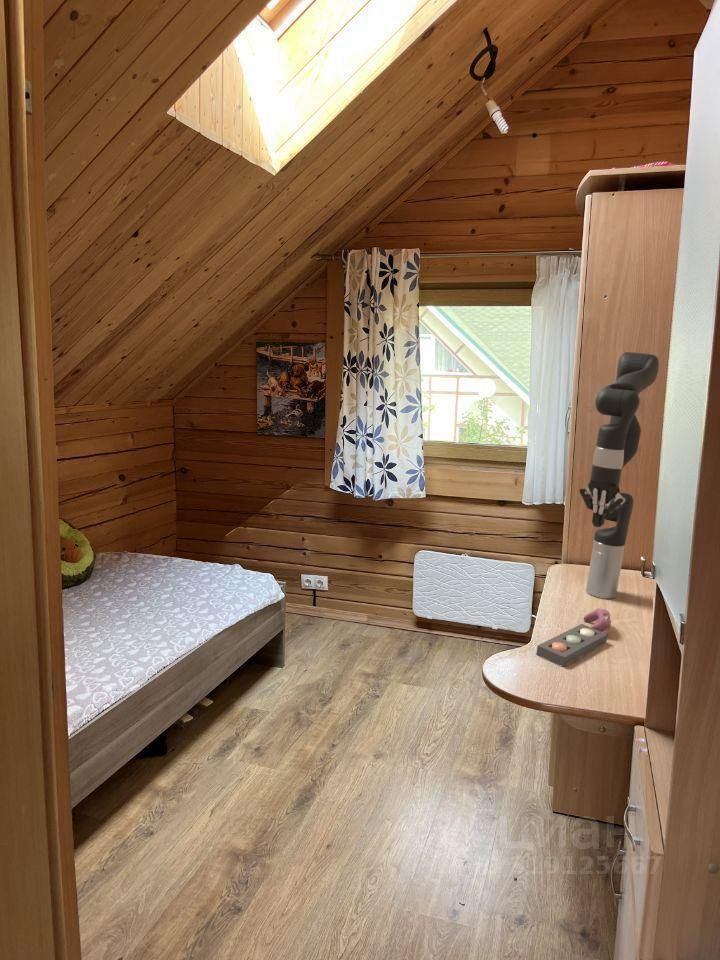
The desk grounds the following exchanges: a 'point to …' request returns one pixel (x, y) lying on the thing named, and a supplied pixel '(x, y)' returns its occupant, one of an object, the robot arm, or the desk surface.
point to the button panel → (571, 645)
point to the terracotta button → (559, 646)
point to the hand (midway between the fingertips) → (597, 526)
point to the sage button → (573, 639)
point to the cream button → (587, 632)
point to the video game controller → (599, 619)
